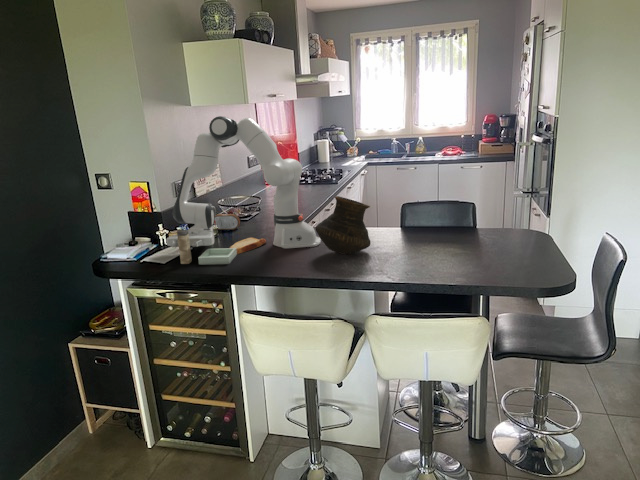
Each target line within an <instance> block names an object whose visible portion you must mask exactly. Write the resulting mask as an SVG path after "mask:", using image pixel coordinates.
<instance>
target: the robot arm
mask: <svg viewBox="0 0 640 480" xmlns="http://www.w3.org/2000/svg"><path fill="white" fill-rule="evenodd" d="M208 126H209V127H208V129H209V132H202V133H200V134H198V136H197V137H196V141H195V144H194V150H193V159H192V162H191V163H190V165H189V166H187V167H186V168H185V169H184V172H183V174H182V177H181V181H180V185H179V189H178V192H177V193H178V194H177V196H176V200H175V203H174V205H173V208H172V217H173V219H174V221H176V222H177V223H178V224H192V225H193V224H194V225H193V226H191V227H190V228H188V229H187V230H188V234H189V242H190V247H193V248H196V247H197V248H198V247H202V246H212V245H214V244H215V234H214V233H215V232H214V226H213V224H214V221H215V215H216V213H214V210H213V208H212V207H211V206H210V205H209V204H210V203H209V204H203V203H200V202H198V203H197V202H190V201H188V199H189V195H190V191H191V187H192V185H193V184H194V182H197V181H198V180H201V179H204V178H207V177H209V176H212V175H213V174H214V173H215V172H216V171H217V169H218V164H219V153H220V149H221V148H226V147H232V146H235V145H237V144H238V143H239V142H242V143H243V145H244V146H245V147H246V148H247V149H248V150H249V152H250V153H251V155H253V156H254V157H255V159H256V160H257V162H258V164H259V165H260V167H261V169H262V172H263V178H264V180H265V182H266V183H267V184H268V185H269V186H271V187H276V189H275V193H274V196H273V209H274V214H273V225H274V238H273V243H272V244H273V246H276V247H279V248H282V249H295V248H298V249H299V248H306V247H307V248H309V247H310V248H311V247H317V246H319V245H320V244H322V243H321V242H322V240H321V238H320V237H319V236H317V234H316V233H317V232H316V229H315V228H314V227H313V226H311V225H310V224H309V223H307V222H306V221H304V215H303V213H300V212H299V203H298V202H299V200H298V196H299V186H300V182H301V181H300V179H301V176H302V174H303V165H302V163H301V162H300V161H298V159H295V158H291V157H290V158H289V157H288V158H285V159H284V158H283V157H282V156H281V155H280V153H279V150H278V146H277V143H276V142H275V141H274V140H273V139H272V138H271V136H270V135H269V134H268V133H267V132H266V131H265V129H263V128H262V126H261V125H260V124H258V122H256V121H255V120H254V119H252V118H250V117H245V118H243V119H240V121H238V122H237V121H236V120H235V119H233V118H229V117H226V116H216V117H214V118H213V119H212V120H211V121H210V123H209V125H208ZM166 245H167V247H172V248H177V247H179V244H178V236H177V234H171V235H170V236H168V237H167V238H166Z"/></svg>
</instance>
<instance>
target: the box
mask: <svg viewBox="0 0 640 480" xmlns="http://www.w3.org/2000/svg"><path fill="white" fill-rule="evenodd" d="M237 255H238V254H237V249H236V248H230V247H229V248H226V247H225V248H222V247H221V248H207V249H206V250H205V251H204V252H202V253H201V254H200V255H199V256H198V257H197V258H198V265H230V264H231V263H232V261H234V260H235V258H236V257H237Z"/></svg>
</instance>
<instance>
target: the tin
mask: <svg viewBox="0 0 640 480" xmlns="http://www.w3.org/2000/svg"><path fill="white" fill-rule="evenodd" d="M214 224H215V225H217V227H218V229H217V230H221V231H227V230H231V231H232V230H233V231H234V230H236V229H238V228H239V226H240V225H241V219H240V217H239V216H238V214H235V213H216V214H215V221H214Z"/></svg>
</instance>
